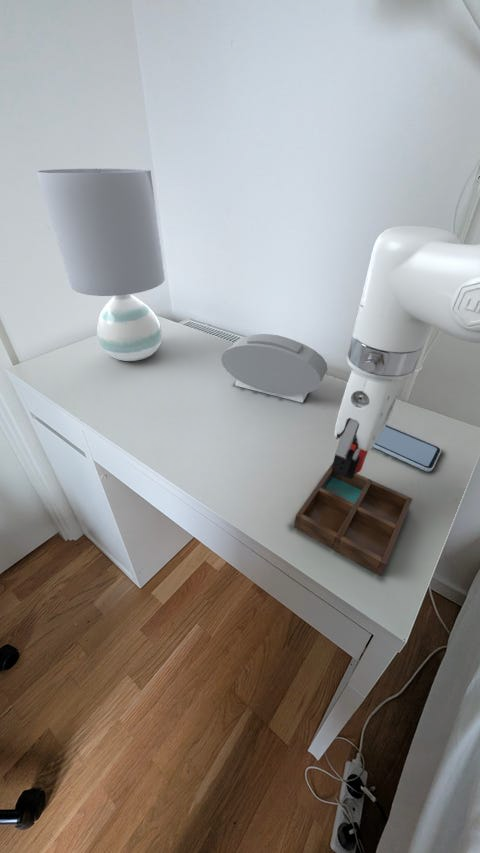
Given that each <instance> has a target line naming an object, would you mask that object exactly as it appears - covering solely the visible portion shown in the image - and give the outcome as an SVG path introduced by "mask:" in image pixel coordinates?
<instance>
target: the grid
mask: <svg viewBox="0 0 480 853" xmlns="http://www.w3.org/2000/svg"><path fill="white" fill-rule="evenodd" d="M332 465H333V462H332V463H331V465H330V466H329V468H328V469H327V471H326V472H325V473H324V475H323V476H322V478H321V479H320V480H319V482H318V483H317V484H316V486H315V487H314V489H313V490H312V492H311V493H310V494H309V496H308V497H307V499H306V500H305V502H304V503H303V505H302V506H301V507H300V509H299V511H298V512H297V513H296V515H295V519H294V526H293V528H294V529H296V530H298V531H300V532H301V533H303V534H305V535H306V536H308V537H310V538H312V539H314V540H315V541H316V542H319V543H321V544H322V545H324V546H326V547H327V548H329V549H331V550H333V551H334V552H337V553H338V554H340V555H341V556H344V557H345V558H347V559H349V560H350V561H352V562H354V563H355V564H357V565H359V566H361V567H363V568H364V569H366V570H368V571H370V572H371V573H373V574H375V575H376V576H378V577H381V575H382V574H383V571H384V570H385V568H386V567H387V564H388V562H389V559H390V557H391V554H392V552H393V549H394V547H395V544H396V542H397V539H398V537H399V533H400V532H401V529H402V527H403V524H404V521H405V520H406V517H407V514H408V512H409V509H410V507H411V504H412V502H413V498H412V497H410V496H408V495H406V494H403V493H401V492H399V491H397V490H395V489H393V488H390V487H388V486H386V485H383V484H381V483H379V482H377V481H374V480H372V479H371V478H368V477H366V476H363V475H361V474H359V473H356V474H355V475H354V477H353V478H352V479H349V478H347V477H345V476H343V475H341V474H339V473H337V472H334V471H333V470H332Z"/></svg>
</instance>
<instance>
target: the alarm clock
mask: <svg viewBox="0 0 480 853" xmlns="http://www.w3.org/2000/svg"><path fill="white" fill-rule="evenodd" d="M220 362H221V364H222V367H223V368H224V370H225V371H226V372H227V373H228V374H229V375H230V376H232V377H233V378H234V379H236V380H235V384H234V386H236V387H240V388H243V389H247V390H251V391H255V392H259V393H263V394H267V395H271V396H274V397H279V398H283V399H287V400H290V401H295V402H299V403H304V401H305V399H306V398H307V396H308V394H309V393H312V392H314V391H316V390H317V389H318V388H319V387H320V385H321V384H322V381H323V379H324V378H325V375H326V374H327V372H328V364H327V362H326V360H325V358H324V357H323V356H322V355H321V354H320V353H319V352H318V351H316V350H315V349H313V348H311V347H310V346H309V345H306V344H304V343H302V342H299V341H296V340H294V339H292V338H288V337H286V336H282V335H279V334H278V335H277V334H271V333H270V334H269V333H257V334H251V335H246V336H243V337H241V338H239V339H237V340H236V341H235V342H234V343H233V344H232V345H230V347H228V348H227V349H226V350H225V352H223V353H222V354H221V359H220Z"/></svg>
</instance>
